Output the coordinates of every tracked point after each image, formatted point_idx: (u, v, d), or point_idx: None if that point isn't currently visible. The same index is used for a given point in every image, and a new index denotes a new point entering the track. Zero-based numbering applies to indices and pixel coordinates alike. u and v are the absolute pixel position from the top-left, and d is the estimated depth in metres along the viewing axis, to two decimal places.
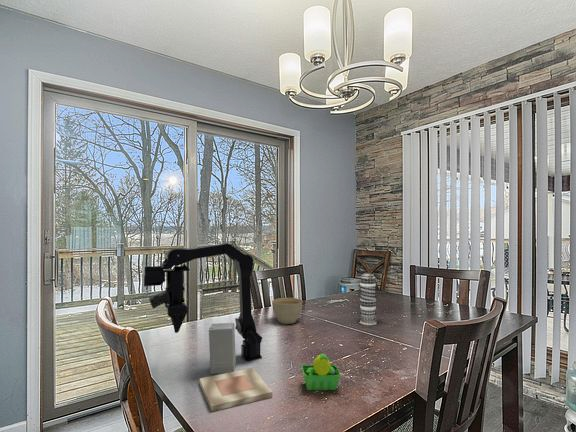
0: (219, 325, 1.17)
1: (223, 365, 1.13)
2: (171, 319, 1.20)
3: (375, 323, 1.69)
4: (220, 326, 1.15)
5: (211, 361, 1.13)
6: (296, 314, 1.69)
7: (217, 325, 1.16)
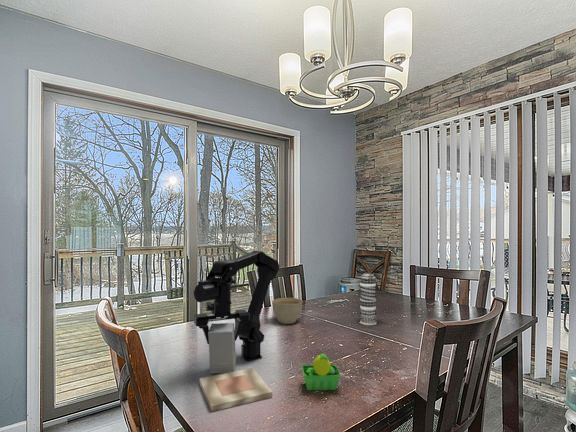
0: (219, 326, 1.14)
1: (223, 366, 1.12)
2: None
3: (375, 323, 1.69)
4: (219, 328, 1.13)
5: (211, 362, 1.12)
6: (296, 314, 1.69)
7: (217, 326, 1.14)
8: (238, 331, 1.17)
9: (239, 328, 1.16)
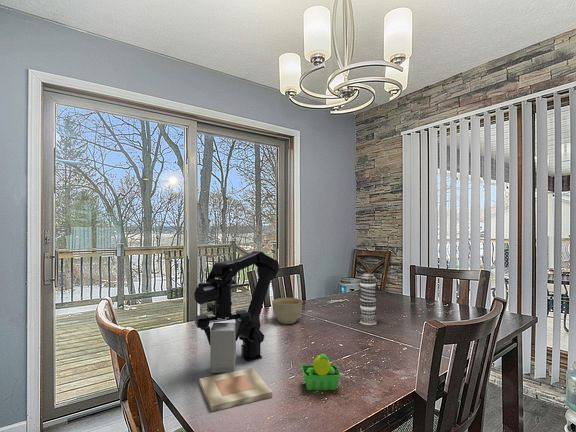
0: (221, 325, 1.15)
1: (224, 365, 1.13)
2: None
3: (375, 323, 1.69)
4: (221, 327, 1.13)
5: (211, 361, 1.12)
6: (296, 314, 1.69)
7: (218, 325, 1.15)
8: (239, 331, 1.17)
9: (240, 328, 1.17)
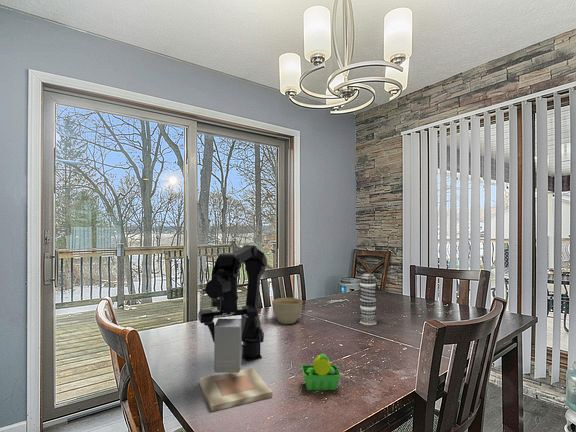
0: (226, 321, 1.07)
1: (229, 364, 1.04)
2: None
3: (375, 323, 1.69)
4: (226, 323, 1.05)
5: (215, 359, 1.04)
6: (296, 314, 1.69)
7: (223, 321, 1.07)
8: (245, 328, 1.09)
9: (246, 325, 1.09)
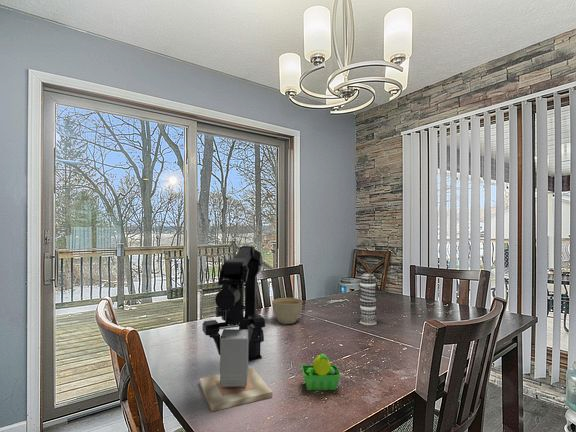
0: (232, 332, 1.01)
1: (235, 378, 0.99)
2: None
3: (375, 323, 1.69)
4: (232, 334, 1.00)
5: (221, 373, 0.98)
6: (296, 314, 1.69)
7: (229, 332, 1.01)
8: (252, 339, 1.03)
9: (253, 336, 1.03)
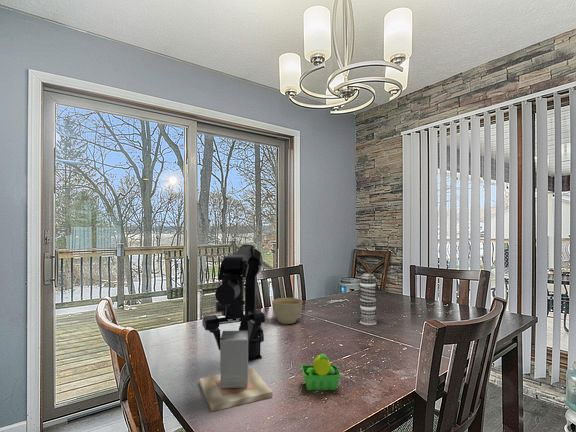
0: (231, 333, 1.01)
1: (236, 379, 0.99)
2: None
3: (375, 323, 1.69)
4: (232, 336, 1.00)
5: (222, 375, 0.98)
6: (296, 314, 1.69)
7: (229, 334, 1.01)
8: (252, 335, 1.03)
9: (253, 331, 1.03)
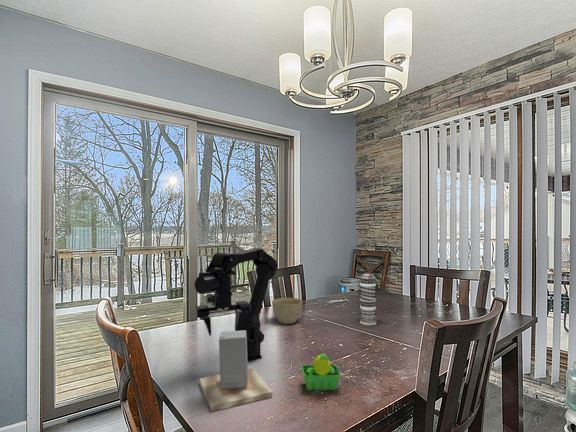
0: (230, 333, 1.03)
1: (236, 379, 0.99)
2: None
3: (375, 323, 1.69)
4: (231, 335, 1.01)
5: (221, 375, 0.99)
6: (296, 314, 1.69)
7: (227, 333, 1.03)
8: (239, 322, 1.16)
9: (240, 319, 1.16)
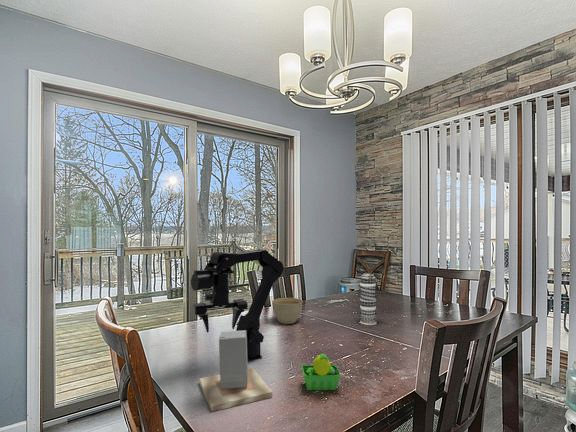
0: (230, 333, 1.03)
1: (236, 379, 0.99)
2: (232, 322, 1.22)
3: (375, 323, 1.69)
4: (231, 335, 1.01)
5: (221, 375, 0.99)
6: (296, 314, 1.69)
7: (227, 333, 1.03)
8: (236, 320, 1.19)
9: (237, 317, 1.19)
